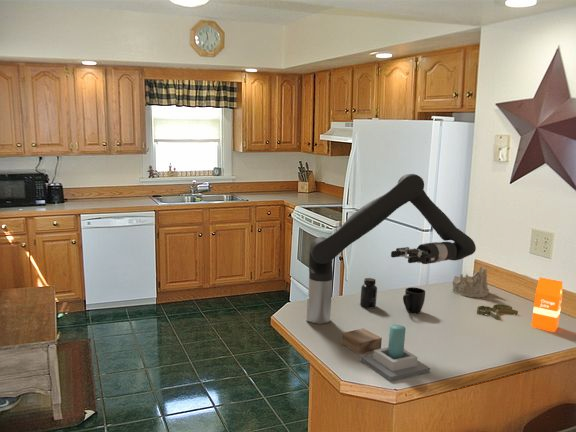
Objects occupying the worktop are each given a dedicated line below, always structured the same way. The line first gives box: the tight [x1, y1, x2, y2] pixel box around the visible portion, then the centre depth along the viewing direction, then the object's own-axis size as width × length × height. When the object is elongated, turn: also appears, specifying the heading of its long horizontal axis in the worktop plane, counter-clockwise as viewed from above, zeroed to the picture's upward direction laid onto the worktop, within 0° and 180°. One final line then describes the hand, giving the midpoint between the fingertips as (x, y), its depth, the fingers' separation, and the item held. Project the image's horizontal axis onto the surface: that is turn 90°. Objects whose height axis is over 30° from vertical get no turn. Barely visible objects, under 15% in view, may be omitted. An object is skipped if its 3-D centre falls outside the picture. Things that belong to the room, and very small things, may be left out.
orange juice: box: [530, 277, 564, 333], centre depth 222 cm, size 8×9×20 cm
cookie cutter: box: [476, 303, 519, 320], centre depth 239 cm, size 18×12×2 cm, turn 122°
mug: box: [402, 287, 426, 315], centre depth 233 cm, size 8×12×10 cm
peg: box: [387, 324, 406, 360], centre depth 181 cm, size 5×5×12 cm
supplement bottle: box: [359, 277, 378, 309], centre depth 239 cm, size 7×7×12 cm
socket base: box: [359, 346, 431, 382], centre depth 181 cm, size 16×16×4 cm
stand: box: [340, 328, 383, 355], centre depth 197 cm, size 10×10×4 cm
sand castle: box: [451, 265, 490, 298], centre depth 265 cm, size 16×16×15 cm
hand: (400, 257), depth 196 cm, fingers open, 8 cm apart
